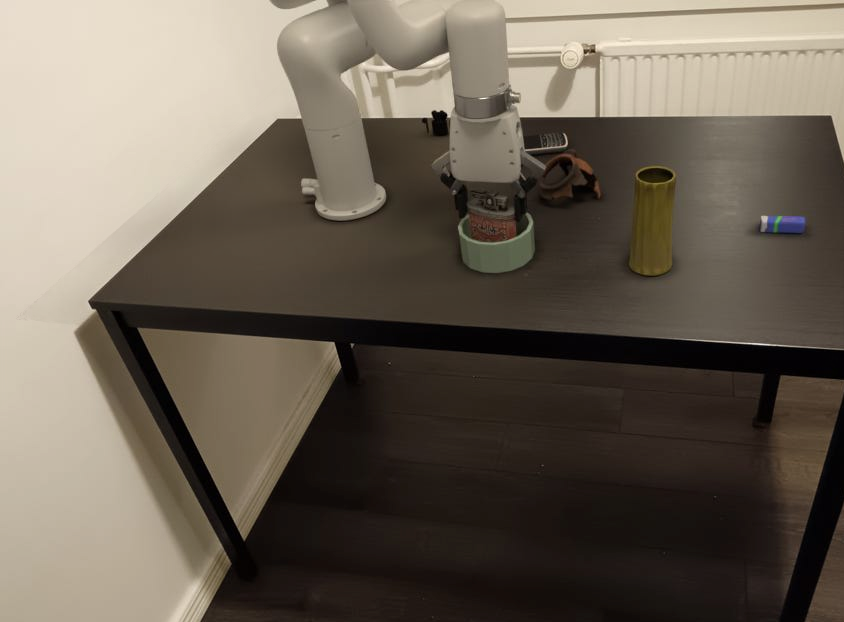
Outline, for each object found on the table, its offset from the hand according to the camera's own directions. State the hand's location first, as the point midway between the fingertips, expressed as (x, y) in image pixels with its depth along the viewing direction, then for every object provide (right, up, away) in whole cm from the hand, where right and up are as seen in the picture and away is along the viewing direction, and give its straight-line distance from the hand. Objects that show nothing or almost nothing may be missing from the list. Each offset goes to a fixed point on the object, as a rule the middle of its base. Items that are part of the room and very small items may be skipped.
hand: (491, 215), depth 112 cm
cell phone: (+10, +18, +30) cm, 36 cm away
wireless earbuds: (-9, +24, +40) cm, 48 cm away
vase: (+23, -8, -3) cm, 24 cm away
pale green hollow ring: (+1, -5, +4) cm, 6 cm away
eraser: (+43, -2, 0) cm, 43 cm away
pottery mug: (+14, +6, +15) cm, 22 cm away
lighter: (+1, -5, +4) cm, 6 cm away
